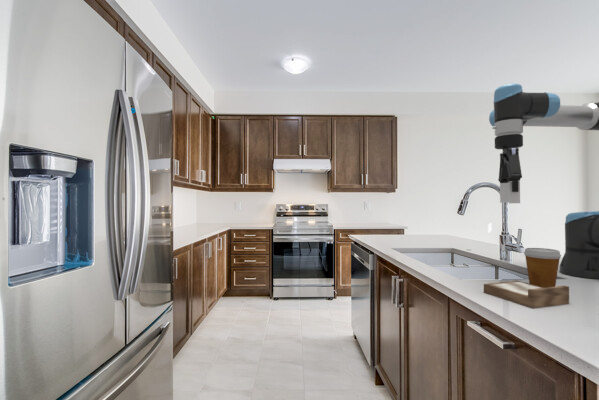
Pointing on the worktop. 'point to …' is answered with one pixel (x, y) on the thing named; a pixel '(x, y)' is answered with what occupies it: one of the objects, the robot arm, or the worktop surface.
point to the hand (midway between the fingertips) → (509, 203)
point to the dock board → (529, 293)
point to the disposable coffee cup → (542, 266)
